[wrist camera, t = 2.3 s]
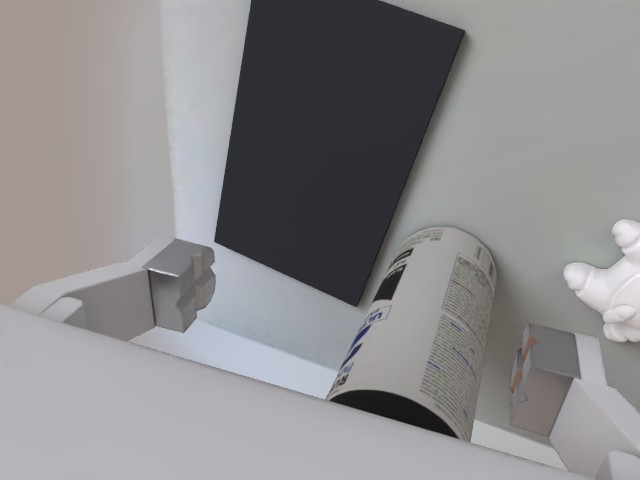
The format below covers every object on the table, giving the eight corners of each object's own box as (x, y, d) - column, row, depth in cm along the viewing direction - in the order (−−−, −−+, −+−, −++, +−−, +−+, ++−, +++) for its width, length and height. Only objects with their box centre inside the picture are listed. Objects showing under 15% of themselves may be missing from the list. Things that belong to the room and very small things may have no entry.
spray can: (407, 209, 34) (272, 466, 18) (514, 240, 33) (469, 552, 17) (388, 289, 38) (261, 561, 22) (483, 321, 36) (422, 640, 20)
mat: (261, -42, 30) (257, -41, 29) (465, 30, 28) (464, 32, 27) (217, 238, 41) (213, 242, 41) (358, 302, 39) (356, 307, 39)
